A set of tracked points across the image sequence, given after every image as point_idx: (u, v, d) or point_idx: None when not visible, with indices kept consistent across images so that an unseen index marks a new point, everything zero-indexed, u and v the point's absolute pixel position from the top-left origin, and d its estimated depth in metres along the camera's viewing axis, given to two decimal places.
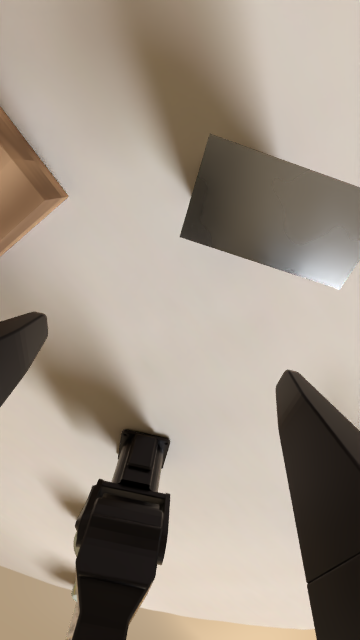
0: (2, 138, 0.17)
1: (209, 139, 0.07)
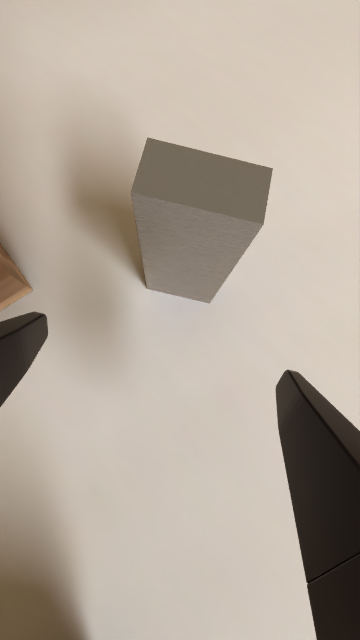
0: None
1: (147, 139, 0.12)
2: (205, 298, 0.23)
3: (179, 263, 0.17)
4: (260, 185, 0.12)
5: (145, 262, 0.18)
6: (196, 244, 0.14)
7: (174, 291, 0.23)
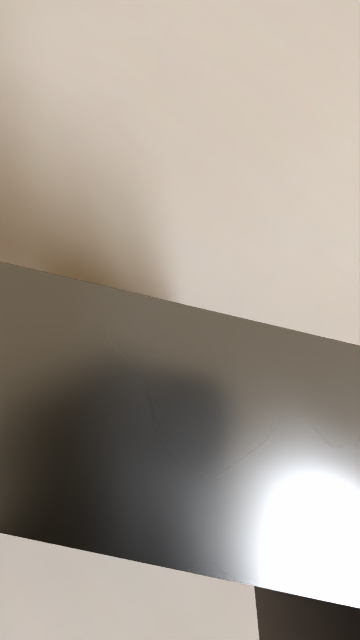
0: None
1: None
2: None
3: None
4: (350, 425, 0.03)
5: None
6: None
7: None
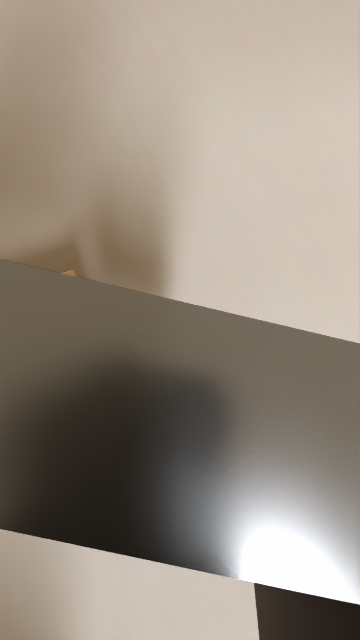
0: None
1: None
2: None
3: None
4: (352, 423, 0.03)
5: None
6: None
7: None
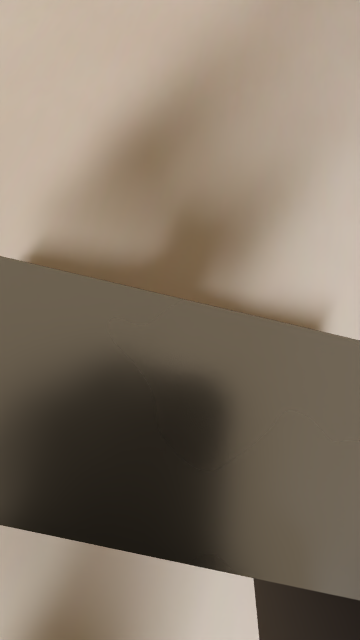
0: None
1: None
2: None
3: None
4: (350, 419, 0.03)
5: None
6: None
7: None
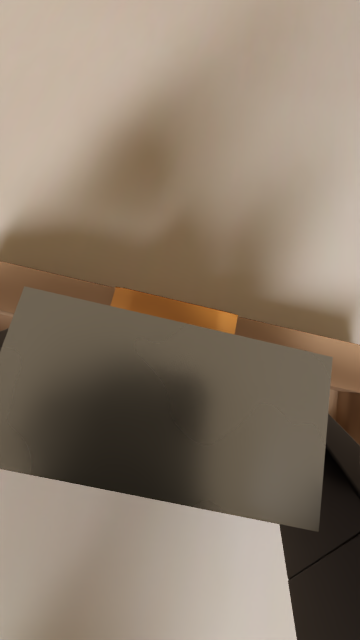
0: None
1: (23, 293, 0.05)
2: None
3: None
4: (306, 408, 0.05)
5: None
6: None
7: None
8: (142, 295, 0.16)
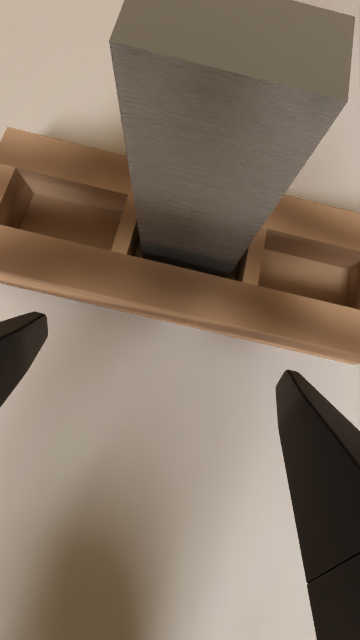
0: None
1: None
2: None
3: (187, 215, 0.12)
4: (336, 40, 0.07)
5: (141, 218, 0.13)
6: (217, 171, 0.09)
7: None
8: None
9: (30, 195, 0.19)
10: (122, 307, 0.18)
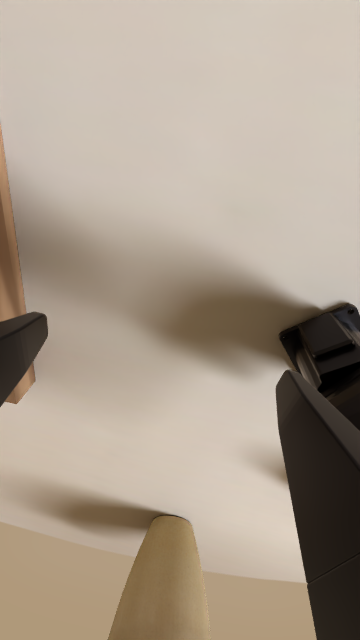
0: None
1: None
2: None
3: None
4: None
5: None
6: None
7: None
8: None
9: None
10: (17, 312, 0.24)
